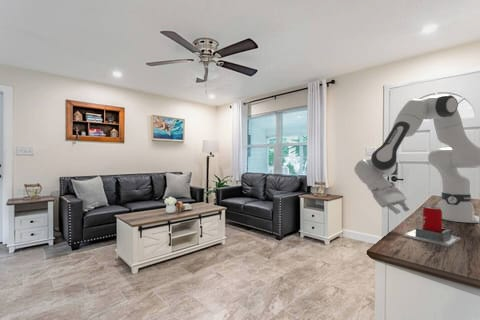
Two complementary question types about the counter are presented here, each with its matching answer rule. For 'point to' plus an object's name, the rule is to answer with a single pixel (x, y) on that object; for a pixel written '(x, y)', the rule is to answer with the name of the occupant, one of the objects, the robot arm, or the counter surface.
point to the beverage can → (432, 218)
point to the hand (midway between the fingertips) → (403, 211)
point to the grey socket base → (434, 236)
